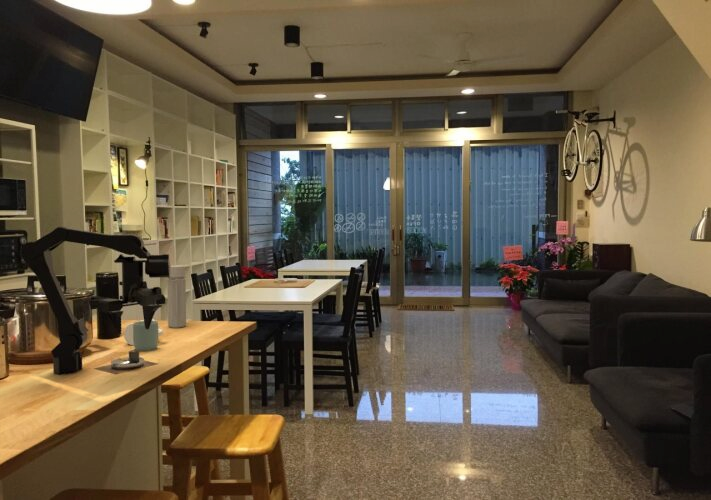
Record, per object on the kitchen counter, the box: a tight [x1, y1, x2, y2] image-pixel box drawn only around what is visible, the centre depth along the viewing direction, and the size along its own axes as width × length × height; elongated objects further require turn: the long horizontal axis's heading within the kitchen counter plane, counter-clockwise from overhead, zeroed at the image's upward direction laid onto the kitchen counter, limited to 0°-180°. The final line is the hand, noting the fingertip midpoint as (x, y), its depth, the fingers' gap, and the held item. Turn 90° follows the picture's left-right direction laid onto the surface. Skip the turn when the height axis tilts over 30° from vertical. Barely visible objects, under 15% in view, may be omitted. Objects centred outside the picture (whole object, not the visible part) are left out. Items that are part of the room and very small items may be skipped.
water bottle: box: [165, 265, 187, 329], centre depth 230 cm, size 9×8×25 cm
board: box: [93, 359, 159, 375], centre depth 165 cm, size 14×11×1 cm
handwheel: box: [110, 349, 145, 369], centre depth 164 cm, size 9×9×4 cm
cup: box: [132, 320, 159, 352], centre depth 187 cm, size 8×8×10 cm
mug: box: [123, 318, 164, 347], centre depth 201 cm, size 12×10×8 cm
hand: (133, 331), depth 162 cm, fingers open, 9 cm apart
